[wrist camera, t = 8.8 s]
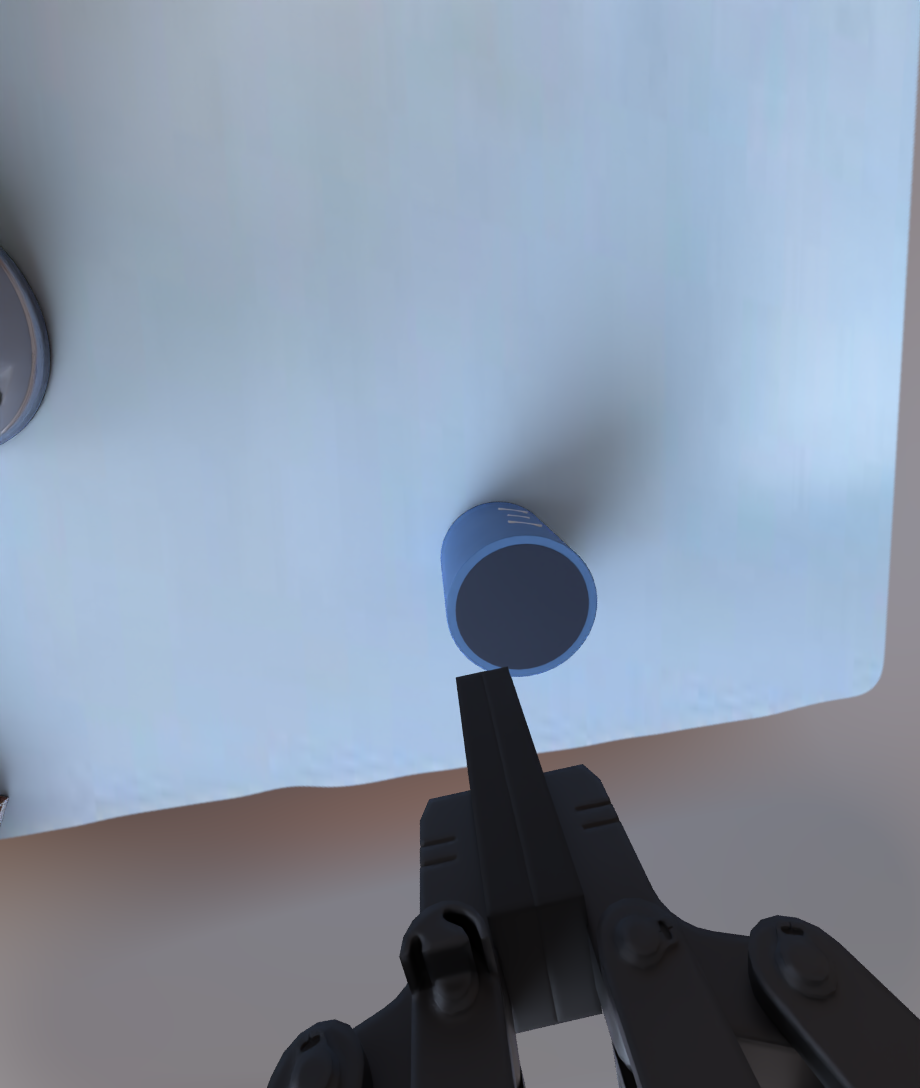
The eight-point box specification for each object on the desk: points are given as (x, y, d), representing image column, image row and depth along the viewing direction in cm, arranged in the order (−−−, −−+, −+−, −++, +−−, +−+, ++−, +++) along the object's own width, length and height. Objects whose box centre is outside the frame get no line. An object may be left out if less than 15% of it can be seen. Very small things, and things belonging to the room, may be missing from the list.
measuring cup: (540, 614, 37) (434, 602, 36) (561, 509, 35) (448, 494, 34) (580, 683, 28) (436, 670, 27) (612, 544, 26) (457, 525, 25)
